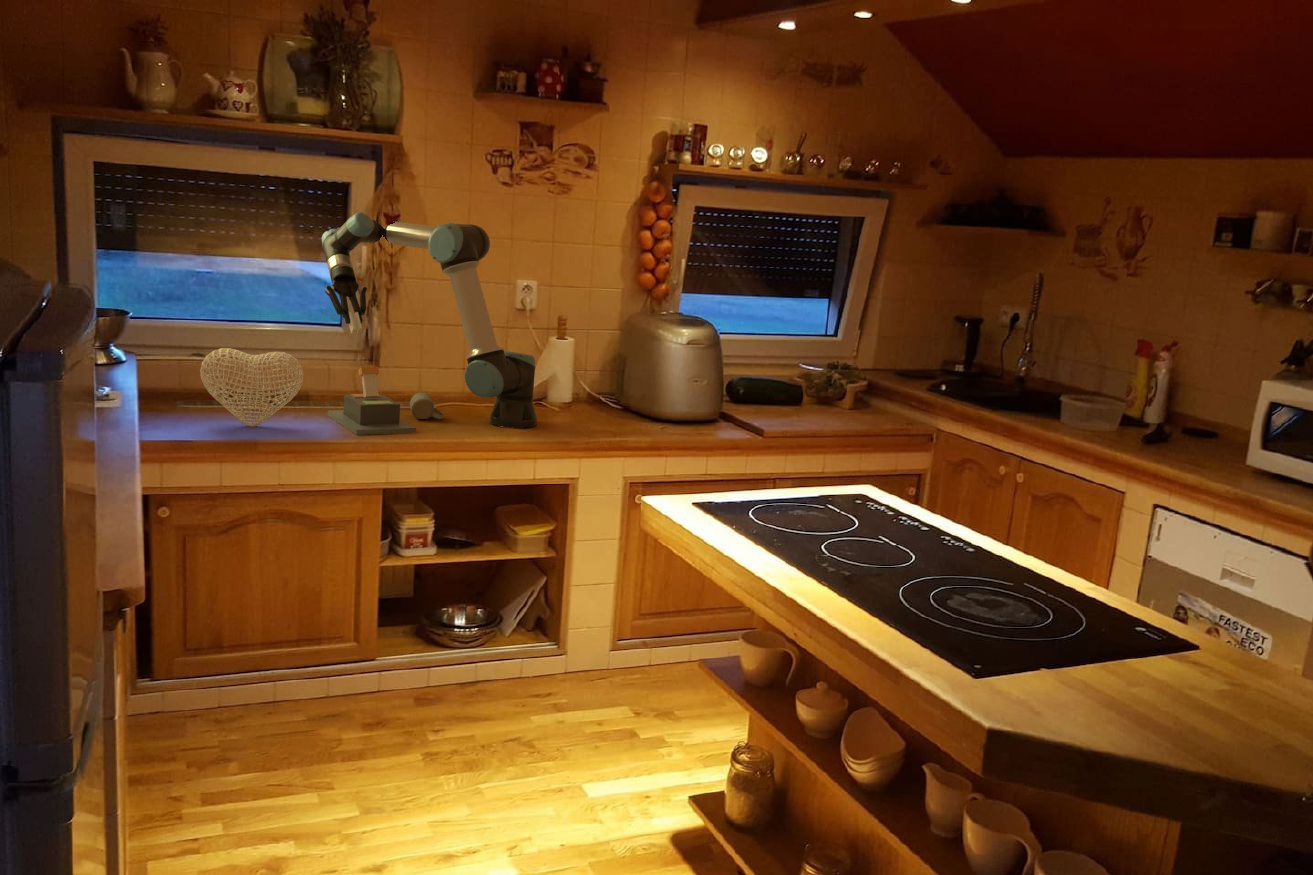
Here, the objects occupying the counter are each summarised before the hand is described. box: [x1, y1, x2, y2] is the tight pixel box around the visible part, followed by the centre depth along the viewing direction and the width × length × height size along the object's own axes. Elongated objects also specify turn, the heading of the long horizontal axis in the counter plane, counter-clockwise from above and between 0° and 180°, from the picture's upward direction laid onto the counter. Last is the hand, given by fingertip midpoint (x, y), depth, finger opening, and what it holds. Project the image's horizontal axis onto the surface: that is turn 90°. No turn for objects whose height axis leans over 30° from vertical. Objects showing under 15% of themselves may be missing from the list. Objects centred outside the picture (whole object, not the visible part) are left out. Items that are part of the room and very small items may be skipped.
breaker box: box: [327, 393, 417, 436], centre depth 331 cm, size 28×18×8 cm, turn 33°
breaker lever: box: [358, 366, 380, 398], centre depth 331 cm, size 3×5×9 cm, turn 123°
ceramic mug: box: [409, 392, 445, 420], centre depth 346 cm, size 11×8×8 cm
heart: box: [199, 347, 304, 428], centre depth 313 cm, size 28×16×22 cm, turn 96°
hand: (356, 331), depth 340 cm, fingers closed
